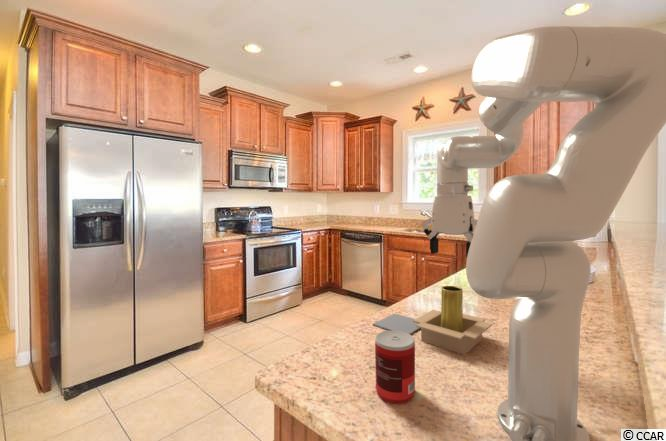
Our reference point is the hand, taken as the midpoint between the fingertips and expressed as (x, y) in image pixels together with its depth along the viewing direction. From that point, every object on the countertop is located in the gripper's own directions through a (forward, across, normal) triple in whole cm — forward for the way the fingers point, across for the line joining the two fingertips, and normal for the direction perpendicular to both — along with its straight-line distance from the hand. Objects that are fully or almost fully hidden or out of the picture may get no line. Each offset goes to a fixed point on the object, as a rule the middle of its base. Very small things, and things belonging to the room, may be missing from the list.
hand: (451, 255), depth 84 cm
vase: (+23, 0, 0) cm, 23 cm away
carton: (+23, 0, 0) cm, 23 cm away
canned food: (+23, -2, +30) cm, 38 cm away
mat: (+23, +16, 0) cm, 28 cm away
